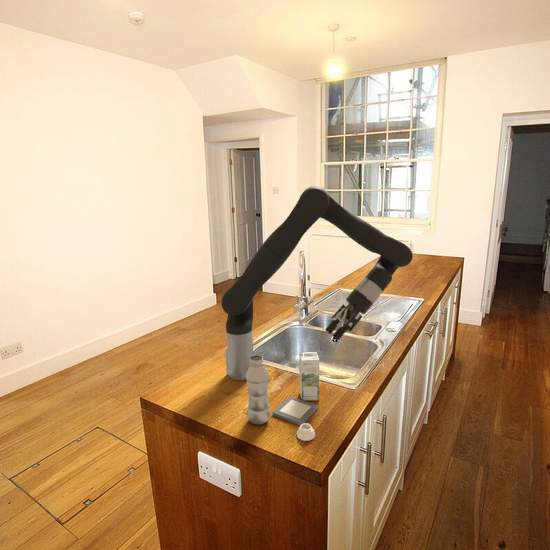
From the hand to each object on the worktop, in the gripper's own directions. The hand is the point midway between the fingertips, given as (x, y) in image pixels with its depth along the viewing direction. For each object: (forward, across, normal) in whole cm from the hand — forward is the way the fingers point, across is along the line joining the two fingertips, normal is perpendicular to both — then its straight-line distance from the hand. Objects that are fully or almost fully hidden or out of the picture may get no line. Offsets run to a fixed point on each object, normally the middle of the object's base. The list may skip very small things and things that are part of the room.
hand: (331, 335), depth 120 cm
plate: (+25, +5, +5) cm, 26 cm away
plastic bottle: (+33, +7, -3) cm, 34 cm away
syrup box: (+20, -2, +9) cm, 22 cm away
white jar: (+26, +16, +7) cm, 31 cm away
